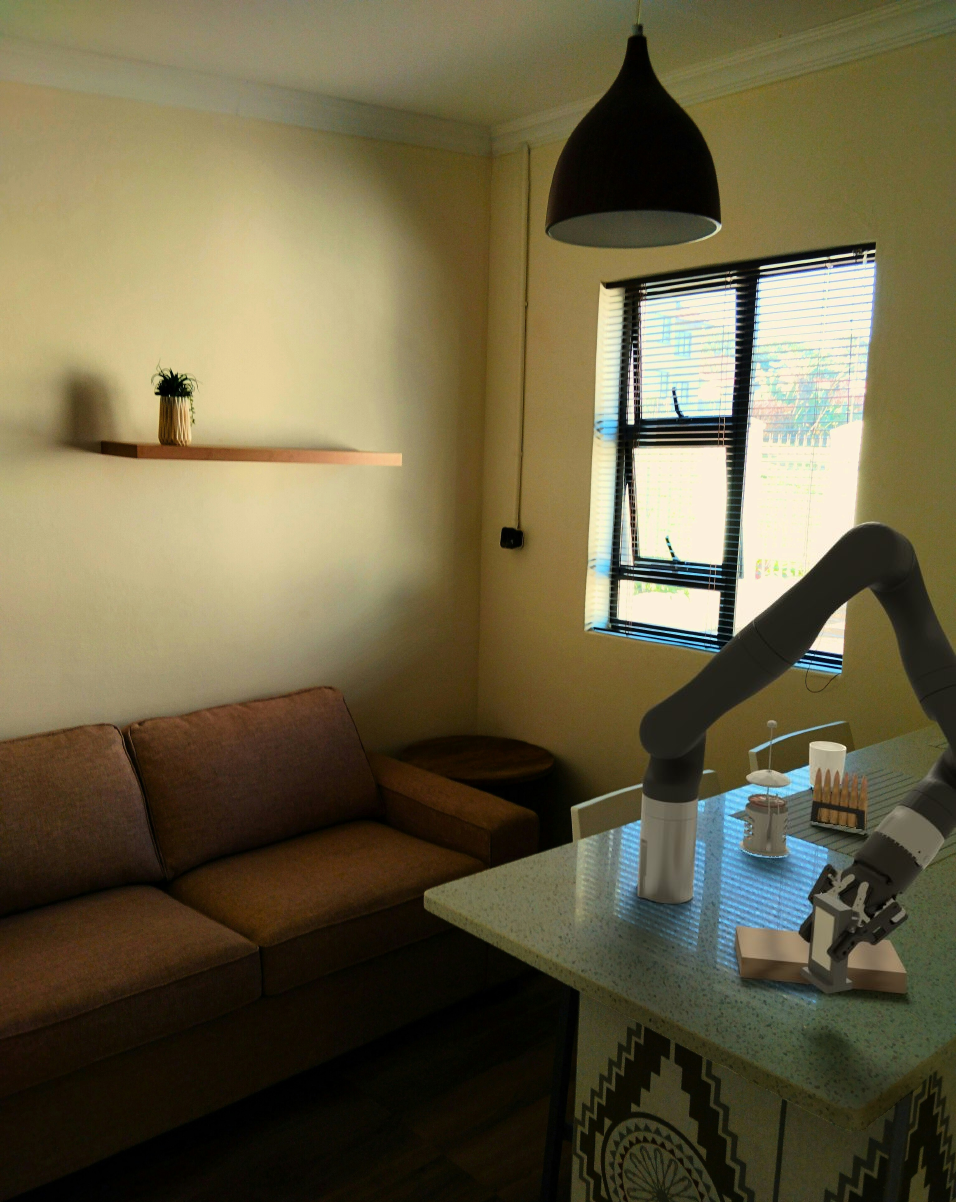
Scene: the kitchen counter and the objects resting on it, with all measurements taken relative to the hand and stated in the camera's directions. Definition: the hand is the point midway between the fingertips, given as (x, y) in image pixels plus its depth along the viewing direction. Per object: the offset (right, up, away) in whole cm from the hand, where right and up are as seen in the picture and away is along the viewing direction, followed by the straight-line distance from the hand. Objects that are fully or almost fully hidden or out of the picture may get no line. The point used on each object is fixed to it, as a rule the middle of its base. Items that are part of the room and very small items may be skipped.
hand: (817, 947), depth 131 cm
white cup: (+35, +2, +100) cm, 106 cm away
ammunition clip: (+29, -1, +74) cm, 79 cm away
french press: (+10, -3, +61) cm, 62 cm away
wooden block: (+5, -8, +15) cm, 18 cm away
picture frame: (+1, -5, +1) cm, 5 cm away
